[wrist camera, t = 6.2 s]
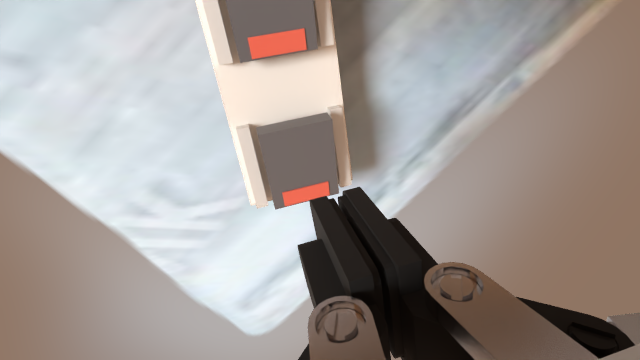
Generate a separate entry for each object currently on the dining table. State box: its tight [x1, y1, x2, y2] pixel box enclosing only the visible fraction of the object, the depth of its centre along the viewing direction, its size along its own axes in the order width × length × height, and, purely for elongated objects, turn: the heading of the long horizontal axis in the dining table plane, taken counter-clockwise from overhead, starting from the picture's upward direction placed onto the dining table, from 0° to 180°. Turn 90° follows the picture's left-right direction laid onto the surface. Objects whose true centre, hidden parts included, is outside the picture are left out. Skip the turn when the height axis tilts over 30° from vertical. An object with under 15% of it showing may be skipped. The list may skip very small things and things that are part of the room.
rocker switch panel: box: [195, 0, 352, 208], centre depth 20 cm, size 14×7×4 cm, turn 9°
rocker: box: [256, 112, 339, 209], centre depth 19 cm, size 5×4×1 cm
